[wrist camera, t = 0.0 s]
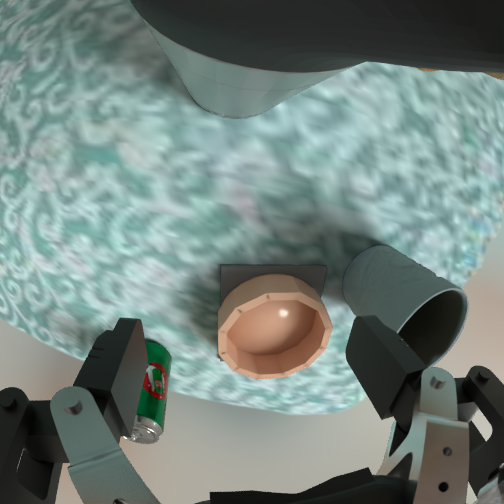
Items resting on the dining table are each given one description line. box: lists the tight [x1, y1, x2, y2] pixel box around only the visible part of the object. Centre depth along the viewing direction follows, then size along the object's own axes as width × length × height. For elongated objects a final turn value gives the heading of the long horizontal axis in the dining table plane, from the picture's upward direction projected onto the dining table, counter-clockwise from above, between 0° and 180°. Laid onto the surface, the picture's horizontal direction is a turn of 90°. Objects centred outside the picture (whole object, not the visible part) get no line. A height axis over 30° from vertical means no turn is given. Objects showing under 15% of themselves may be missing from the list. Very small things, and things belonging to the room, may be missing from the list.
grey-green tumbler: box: [342, 245, 469, 368], centre depth 25 cm, size 10×10×12 cm
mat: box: [220, 265, 327, 361], centre depth 30 cm, size 13×11×1 cm
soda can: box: [122, 342, 172, 444], centre depth 25 cm, size 5×5×12 cm
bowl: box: [218, 273, 333, 379], centre depth 28 cm, size 12×12×4 cm
